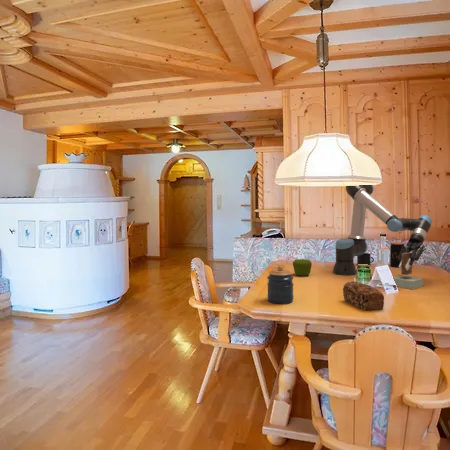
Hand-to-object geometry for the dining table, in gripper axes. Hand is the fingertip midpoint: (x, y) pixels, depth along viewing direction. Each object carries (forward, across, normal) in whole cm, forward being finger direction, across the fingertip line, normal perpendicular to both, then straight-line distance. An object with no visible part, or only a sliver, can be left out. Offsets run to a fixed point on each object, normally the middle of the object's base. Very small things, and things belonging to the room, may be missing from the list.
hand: (403, 268), depth 204 cm
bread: (+43, -6, +28) cm, 51 cm away
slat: (0, 0, -5) cm, 5 cm away
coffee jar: (-35, +34, -50) cm, 70 cm away
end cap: (+5, 0, -10) cm, 11 cm away
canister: (+61, +24, +46) cm, 79 cm away
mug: (-25, +52, -40) cm, 70 cm away
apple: (+21, +58, +6) cm, 62 cm away
